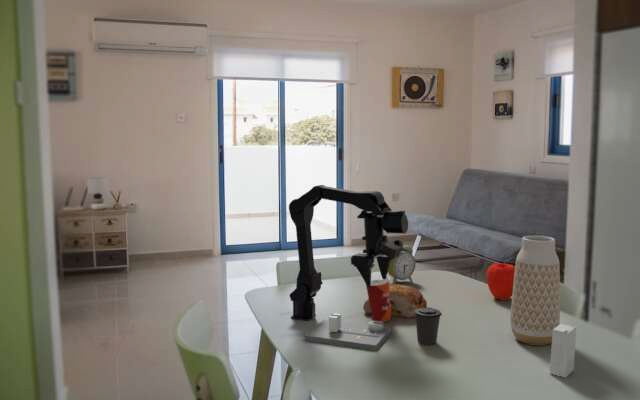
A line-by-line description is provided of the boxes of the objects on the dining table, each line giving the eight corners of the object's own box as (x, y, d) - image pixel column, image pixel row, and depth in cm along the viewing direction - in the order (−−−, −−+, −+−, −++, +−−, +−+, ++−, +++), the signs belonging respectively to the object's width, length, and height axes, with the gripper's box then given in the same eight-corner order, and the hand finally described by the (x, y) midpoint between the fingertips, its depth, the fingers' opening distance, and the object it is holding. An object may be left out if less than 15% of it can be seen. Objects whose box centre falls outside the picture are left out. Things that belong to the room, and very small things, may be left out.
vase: (557, 335, 187) (562, 235, 183) (559, 350, 174) (565, 244, 170) (510, 329, 191) (514, 232, 187) (508, 345, 178) (513, 241, 174)
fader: (328, 331, 184) (328, 316, 184) (333, 327, 188) (333, 312, 187) (336, 332, 183) (336, 317, 183) (341, 328, 187) (341, 313, 186)
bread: (360, 314, 207) (361, 285, 206) (376, 299, 224) (377, 273, 223) (420, 321, 200) (421, 291, 199) (432, 306, 217) (433, 278, 215)
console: (304, 340, 182) (304, 328, 182) (324, 323, 197) (324, 312, 196) (375, 350, 174) (376, 338, 173) (390, 332, 189) (391, 321, 188)
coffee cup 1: (393, 323, 196) (388, 280, 192) (368, 324, 198) (362, 282, 194) (395, 311, 204) (390, 269, 200) (371, 312, 206) (365, 271, 202)
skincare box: (557, 367, 162) (559, 322, 161) (574, 371, 159) (577, 326, 158) (548, 374, 158) (551, 328, 156) (566, 379, 155) (569, 332, 153)
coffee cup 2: (424, 349, 175) (425, 315, 174) (407, 340, 182) (408, 307, 181) (446, 344, 179) (447, 311, 177) (429, 335, 186) (430, 303, 185)
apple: (522, 297, 227) (524, 261, 225) (514, 305, 217) (515, 268, 215) (491, 292, 233) (492, 258, 232) (481, 300, 223) (482, 264, 222)
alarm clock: (393, 285, 243) (394, 248, 241) (382, 282, 248) (383, 245, 246) (415, 281, 249) (416, 245, 247) (404, 278, 255) (405, 242, 253)
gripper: (380, 239, 176) (382, 292, 178) (412, 229, 191) (414, 278, 192) (348, 237, 183) (351, 288, 185) (381, 227, 198) (383, 274, 199)
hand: (376, 282), depth 190 cm, fingers open, 9 cm apart
